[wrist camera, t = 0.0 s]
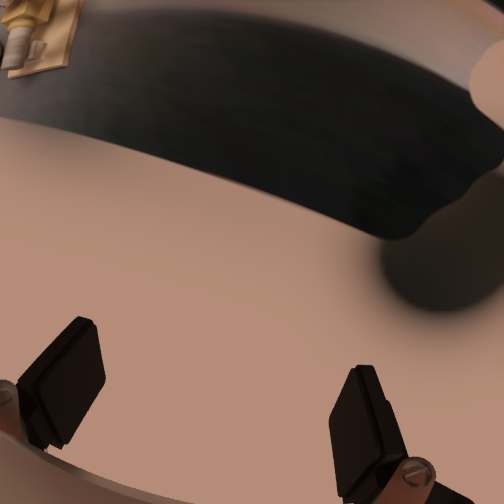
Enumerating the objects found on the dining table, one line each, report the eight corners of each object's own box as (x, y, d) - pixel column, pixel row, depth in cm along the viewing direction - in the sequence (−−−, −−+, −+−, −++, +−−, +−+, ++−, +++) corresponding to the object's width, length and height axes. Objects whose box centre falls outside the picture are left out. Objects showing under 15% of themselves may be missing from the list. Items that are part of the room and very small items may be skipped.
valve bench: (42, -22, 26) (8, -39, 16) (100, -43, 26) (68, -69, 16) (13, 78, 34) (-31, 74, 23) (67, 65, 34) (21, 54, 23)
